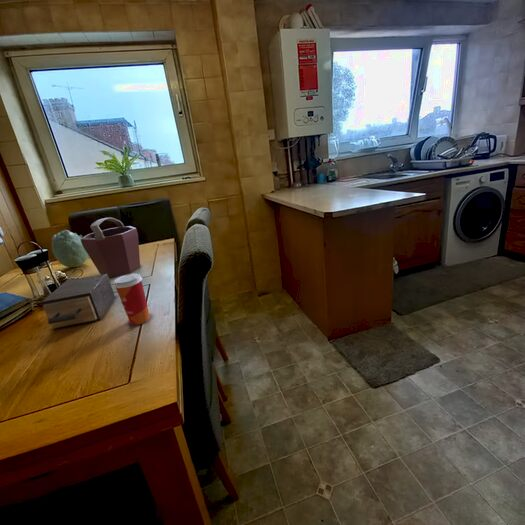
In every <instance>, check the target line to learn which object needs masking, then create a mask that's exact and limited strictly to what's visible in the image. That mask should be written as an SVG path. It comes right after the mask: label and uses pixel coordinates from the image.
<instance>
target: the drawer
mask: <svg viewBox="0 0 525 525" xmlns="http://www.w3.org/2000/svg"><path fill="white" fill-rule="evenodd" d="M42 308H43V310H44V312H45V314H46V316H47V323H48V325H51V328H52V329H53V328H57V327H62V326H67V325H72V324H77V323H82V322H87V321H92V320H96V319H97V315H96V313H95V310H94V308H93V305H92V302H91V300H90V297H89V295H88V296H85V297H80V298H75V299H74V298H72V299H67V300H61V301H56V302H51V303H48V304H44V305H43V304H42ZM92 322H93V321H92ZM87 323H88V322H87ZM82 324H83V323H82ZM77 325H78V324H77ZM72 326H73V325H72ZM67 327H68V326H67ZM62 328H63V327H62ZM57 329H58V328H57Z"/></svg>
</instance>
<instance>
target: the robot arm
mask: <svg viewBox="0 0 525 525" xmlns="http://www.w3.org/2000/svg"><path fill="white" fill-rule="evenodd" d="M4 237H5V236H4V231H3V229H2V227H1V226H0V246H2V245H4V244H5V241H4V240H3V239H2V238H4Z"/></svg>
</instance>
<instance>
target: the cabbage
mask: <svg viewBox="0 0 525 525" xmlns="http://www.w3.org/2000/svg"><path fill="white" fill-rule="evenodd" d="M83 237H84V236H83V235H82V234H80V235H78V234H77V232H72V231H70V230H68V229H63V230H61V231H59V232H57V233H54V235H52V237H51V242H52V243H51V250H52V254H53V256H54V258H55V259H56V261H57V262H58V263H59V264H60V265H62V266H64V267H67V268H77V267H81V266H83V265H84V264H85V263H86V262H87V261H88V260H89V258H90V257H89V255H88V254H87V252H86V250H85V249H84V247H83V245H82V243H81V240H80V239H81V238H83Z"/></svg>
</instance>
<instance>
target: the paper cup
mask: <svg viewBox="0 0 525 525" xmlns="http://www.w3.org/2000/svg"><path fill="white" fill-rule="evenodd" d="M113 288H115V290H116V292H117V294H118V297H119V299H120V303H121V304H122V308H123V309H124V312H125V314H126V316H127V319H128V321H129V323H130V325H132V326H139V325H142V324H145V323H147V322H148V321H149V320H150V319H151V317H150V311H149V307H148V301H147V298H146V294H145V290H144V284H143V277H142V276H141V275H140V273H128V274H125V275H120V276H118V277H117V278H115V280H114V281H113Z"/></svg>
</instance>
